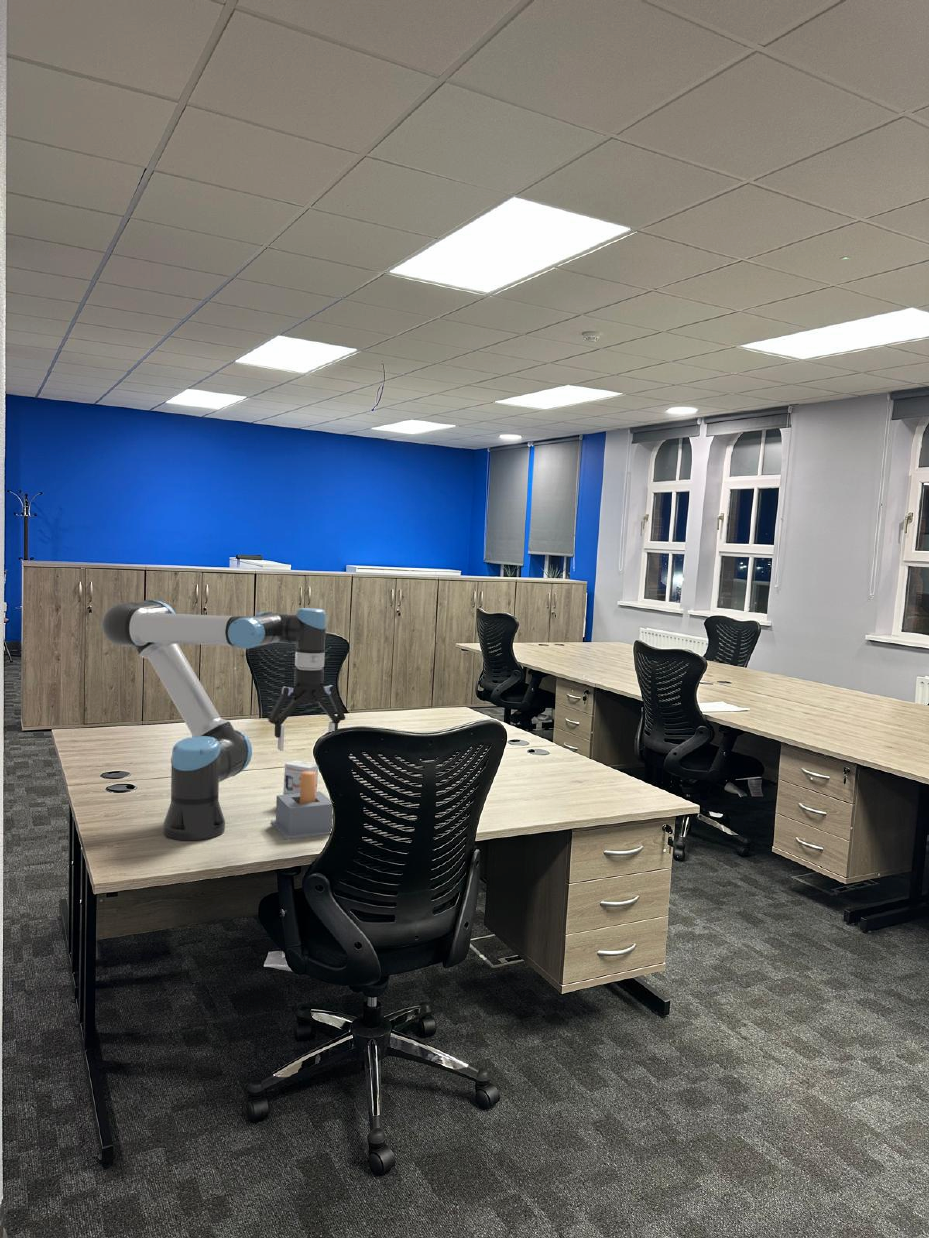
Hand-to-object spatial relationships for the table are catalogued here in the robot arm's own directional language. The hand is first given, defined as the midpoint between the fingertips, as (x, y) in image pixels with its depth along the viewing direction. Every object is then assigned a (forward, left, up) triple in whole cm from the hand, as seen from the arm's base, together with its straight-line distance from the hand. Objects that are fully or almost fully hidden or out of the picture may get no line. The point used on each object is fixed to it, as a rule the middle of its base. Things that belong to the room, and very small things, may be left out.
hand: (305, 748), depth 230 cm
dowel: (+1, 0, -21) cm, 21 cm away
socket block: (0, 0, -21) cm, 21 cm away
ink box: (+5, +20, -22) cm, 30 cm away
